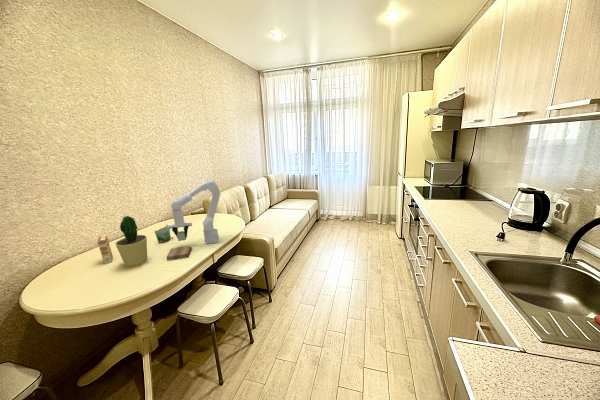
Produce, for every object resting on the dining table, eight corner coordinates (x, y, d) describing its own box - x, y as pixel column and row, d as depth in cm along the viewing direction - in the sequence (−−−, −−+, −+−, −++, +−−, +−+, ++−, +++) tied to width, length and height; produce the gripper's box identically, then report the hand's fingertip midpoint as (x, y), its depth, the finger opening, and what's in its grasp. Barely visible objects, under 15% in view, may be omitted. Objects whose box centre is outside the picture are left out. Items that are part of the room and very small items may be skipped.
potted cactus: (124, 259, 149) (113, 214, 141) (153, 254, 155) (143, 210, 147) (117, 271, 135) (104, 221, 128) (149, 265, 141) (138, 216, 133)
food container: (164, 244, 170) (161, 231, 167) (156, 243, 171) (154, 230, 168) (176, 237, 181) (173, 224, 179) (169, 237, 183) (166, 224, 180)
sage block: (186, 237, 165) (185, 230, 164) (185, 240, 161) (184, 233, 159) (179, 238, 164) (178, 231, 163) (178, 241, 160) (176, 234, 158)
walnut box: (191, 250, 160) (191, 245, 159) (188, 258, 148) (187, 253, 148) (172, 252, 157) (171, 248, 156) (167, 261, 145) (166, 256, 145)
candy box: (112, 262, 147) (106, 239, 143) (103, 264, 144) (97, 240, 141) (113, 256, 154) (107, 234, 150) (104, 258, 152) (98, 236, 148)
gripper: (191, 215, 164) (194, 233, 167) (168, 217, 161) (172, 236, 164) (189, 218, 157) (192, 237, 161) (165, 221, 154) (169, 240, 157)
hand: (182, 237), depth 162 cm, fingers closed on sage block, 4 cm apart
